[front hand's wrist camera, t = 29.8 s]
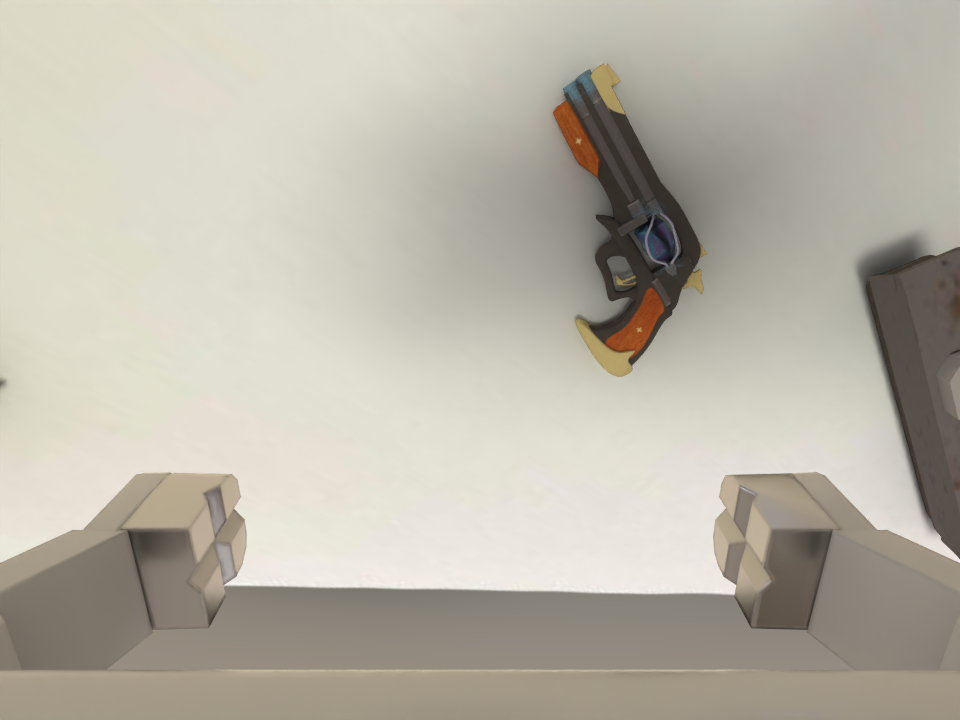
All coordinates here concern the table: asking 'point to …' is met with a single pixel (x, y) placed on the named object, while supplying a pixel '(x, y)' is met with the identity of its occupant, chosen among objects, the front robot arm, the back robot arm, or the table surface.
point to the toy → (926, 374)
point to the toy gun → (628, 221)
